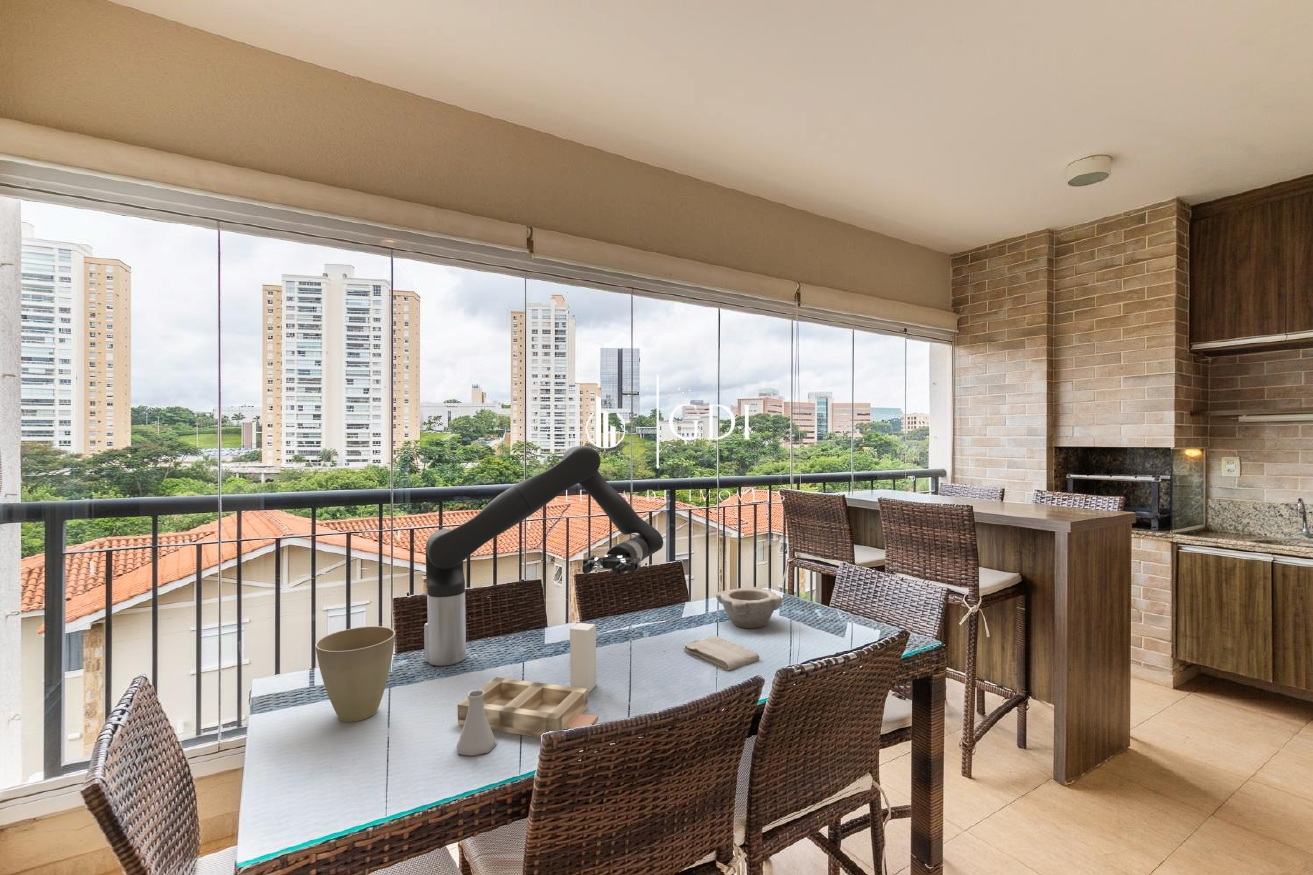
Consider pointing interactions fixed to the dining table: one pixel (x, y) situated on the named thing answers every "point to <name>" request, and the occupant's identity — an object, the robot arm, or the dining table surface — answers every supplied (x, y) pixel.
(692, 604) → the dining table surface
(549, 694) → the socket block
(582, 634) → the plug peg
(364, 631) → the plant pot
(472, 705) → the flask
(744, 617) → the mortar
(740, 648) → the washcloth
